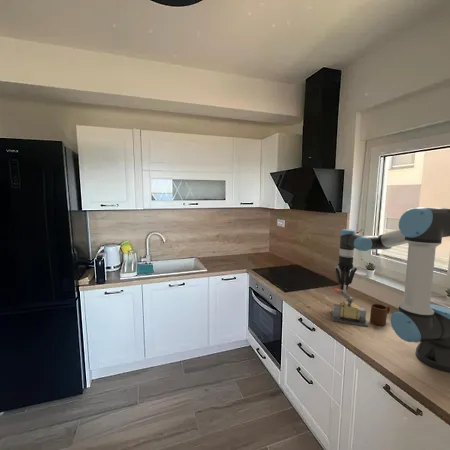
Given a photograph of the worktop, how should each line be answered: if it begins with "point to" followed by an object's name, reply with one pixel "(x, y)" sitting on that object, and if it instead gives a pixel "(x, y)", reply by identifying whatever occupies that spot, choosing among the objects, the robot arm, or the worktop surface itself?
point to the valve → (349, 314)
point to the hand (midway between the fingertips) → (343, 294)
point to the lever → (344, 295)
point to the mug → (379, 314)
